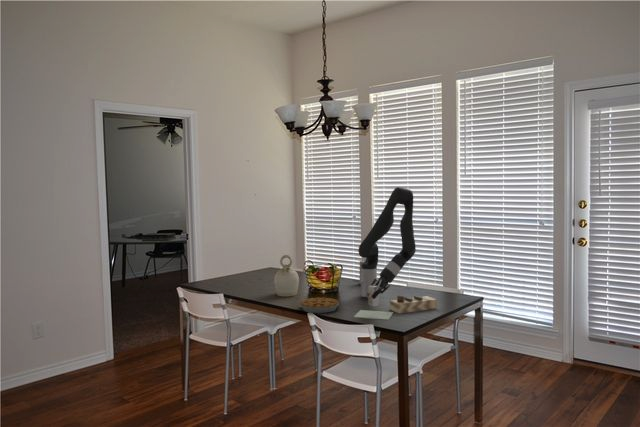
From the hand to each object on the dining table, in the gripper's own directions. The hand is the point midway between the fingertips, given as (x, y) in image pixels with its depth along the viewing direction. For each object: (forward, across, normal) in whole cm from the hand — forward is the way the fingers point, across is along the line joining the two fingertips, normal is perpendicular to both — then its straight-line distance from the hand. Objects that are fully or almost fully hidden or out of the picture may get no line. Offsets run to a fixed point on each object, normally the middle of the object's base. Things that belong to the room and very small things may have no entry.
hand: (370, 296), depth 264 cm
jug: (+23, -67, -10) cm, 72 cm away
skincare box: (-18, -73, +32) cm, 82 cm away
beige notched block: (-12, -2, +26) cm, 29 cm away
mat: (+6, 0, +8) cm, 10 cm away
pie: (+20, -26, -6) cm, 33 cm away
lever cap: (+2, 0, +5) cm, 5 cm away
